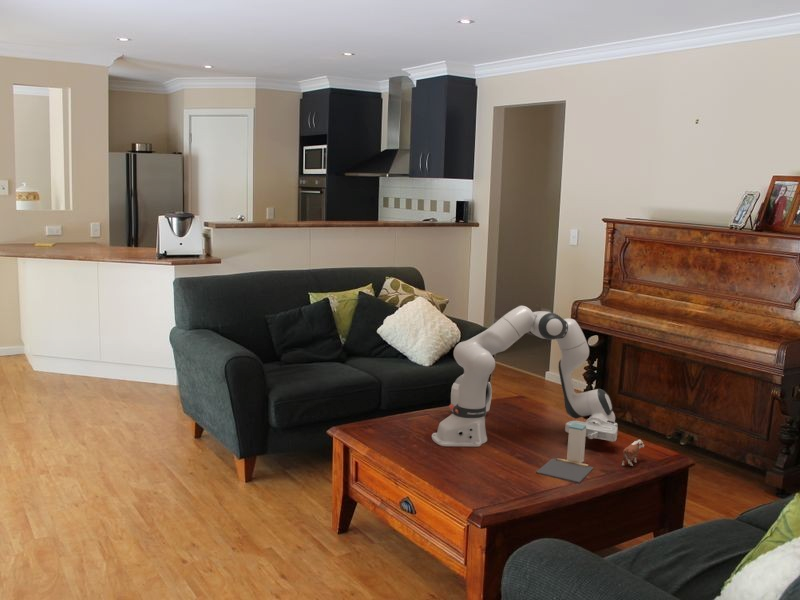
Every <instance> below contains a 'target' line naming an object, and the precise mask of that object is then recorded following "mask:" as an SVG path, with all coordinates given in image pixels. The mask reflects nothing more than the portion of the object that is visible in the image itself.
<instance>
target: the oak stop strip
mask: <svg viewBox="0 0 800 600" xmlns="http://www.w3.org/2000/svg"><path fill="white" fill-rule="evenodd" d="M555 459H556V460H557V461H562V462H566V463H571V464H575V465H580V466H584V467H588V466H589V464H587V463H584V462H582V463H579V462H574V461H570V460H567V459H565V458H559V457H557V458H555Z"/></svg>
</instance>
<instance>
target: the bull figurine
mask: <svg viewBox="0 0 800 600" xmlns="http://www.w3.org/2000/svg"><path fill="white" fill-rule="evenodd" d="M641 448H645V444H644V442H643V441H642V440H641V439H634V441H633V442H632V443H630V444H629V445H628V446H626V447H624V449H623V451H622V464H621V466H623V467H624V466H625V460H626V461H627V462H628V463H627V464H628V465H629V466H632V467H633V466H634V465H633V463H636V464H637V462H638V461H637V458H638V455H639V453H640V449H641ZM633 458H634V460H633ZM632 462H633V463H632Z"/></svg>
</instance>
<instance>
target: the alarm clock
mask: <svg viewBox="0 0 800 600" xmlns="http://www.w3.org/2000/svg"><path fill="white" fill-rule="evenodd" d="M463 375H464V373H463V374H460V376H458V377H457V378H456V379H455V381H454V382H453V384H452V385H451V392H450V404H453V405H454V406H456V405H457V404H458V388H459V384H460V383H461V382H462V379H463ZM492 387H493V386H492V384H491V382H490V381H488V383H487V387H486V399H485V406H486V413H487V412H489V411H490V407H491V402H492V394H493V391H492V390H493V388H492ZM451 412H452V413H453V410H451Z"/></svg>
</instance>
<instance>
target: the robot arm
mask: <svg viewBox="0 0 800 600" xmlns="http://www.w3.org/2000/svg"><path fill="white" fill-rule="evenodd" d="M527 333H529V334H531V335H532V336H536V337H538V338H540V339H545V340H556V342H557V344H558V347H559V349H560V353H561V359H560V360H559V361H558V375H559V377H560V383H561V388H562V393H563V398H564V408H565V412H566V414H567V415H568V416H569V417H571V418H574V420H570V421H567V422H566V423H565V426H564V427H565V428H564V431H565V432H566V433H568V434H569V426H570V425H572V424H573V423H576V424H581V425H586V437H587V439H589V440H593V439H598V440H604V441H607V442H616V441H617V438H618V433H619V432H618V431H619V429H618V423H617V422H616V415H615V413H614V411H613V410H614V409H613V408H614V407H613V402H612V399H611V396H610V395H609V394H608V392H606V391H605V390H604V389H601V388H595V389H592V390H588V391H584V392H580V393H578V392H576V391H575V388H574V382H573V378H572V375H573V374H572V373H573V372H574V371H575V370H576V369H578V368H579V367H581V366H582V365H583V364H584V363H586V361H587V360H588V358H589V356H590V347H589V345H588V341H587V338H586V337H585V334H584V332H583V329H582V328H581V327H580V325H579V323H578V321H576V320H575V319H573V318H570V317H569V318H567V317H566V318H562V317H561V316H560V315H558V314H557V313H554V312H551V311H548V310H533V311H532V309H531V308H529V307H528V306H525V305H518V306H517V307H515V308H513V309H511V310H510V311H508V312H507V313H505V314H504V315H503V316H501V318H499V319H498V320H496V322H494V323H493V324H492V325H491V326H489V327H488V328H487V329H485V330H483V331H482V332H480V333H478V334H477V335H475V336H473V337H471V338H469V339H467V340H462V341H461V342H458V344H456V345H455V347H454V349H453V358H454V360H455V361H456V363H457V364H458V365H459V366H460V367H461V368H462V369H463V374H464V375H463V379H462V382H461V383H460V384H459V388H458V404H457V405H456V406H454V405H453V404H451V403H450V404H449V405H448V408H449V409H450V410H451V411H452V410H453V412H452V413H451V414H450V415H449V416H447V417H446V418H444V419H443V420H442V421H440V422H439V424H438V426H437V432H433V433H432V434H431V439H432V441H433V442H434V443H436V445H439V446H441V447H477V448H478V447H481V446H482V445H483V444H485V443H486V442H488V435H487V431H486V417H487V412H486V406H485V399H486V387H487V383H488V382H489V379H490V375H491V374H492V373H493V372H494V370H495V368H496V359H495V358H494V357H493V356H494V355H496V354H498V353H501V352H504V351H506V350H508V349H509V348H510V347H511V346H513V344H514V343H516V342H518V340H520V339H521V338H522V337H523V336H524V335H525V334H527ZM587 416H590V417H589V418H587V419H586V420H585V421H581V420H577V419H580V418H582V417H583V418H584V417H587Z"/></svg>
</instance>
